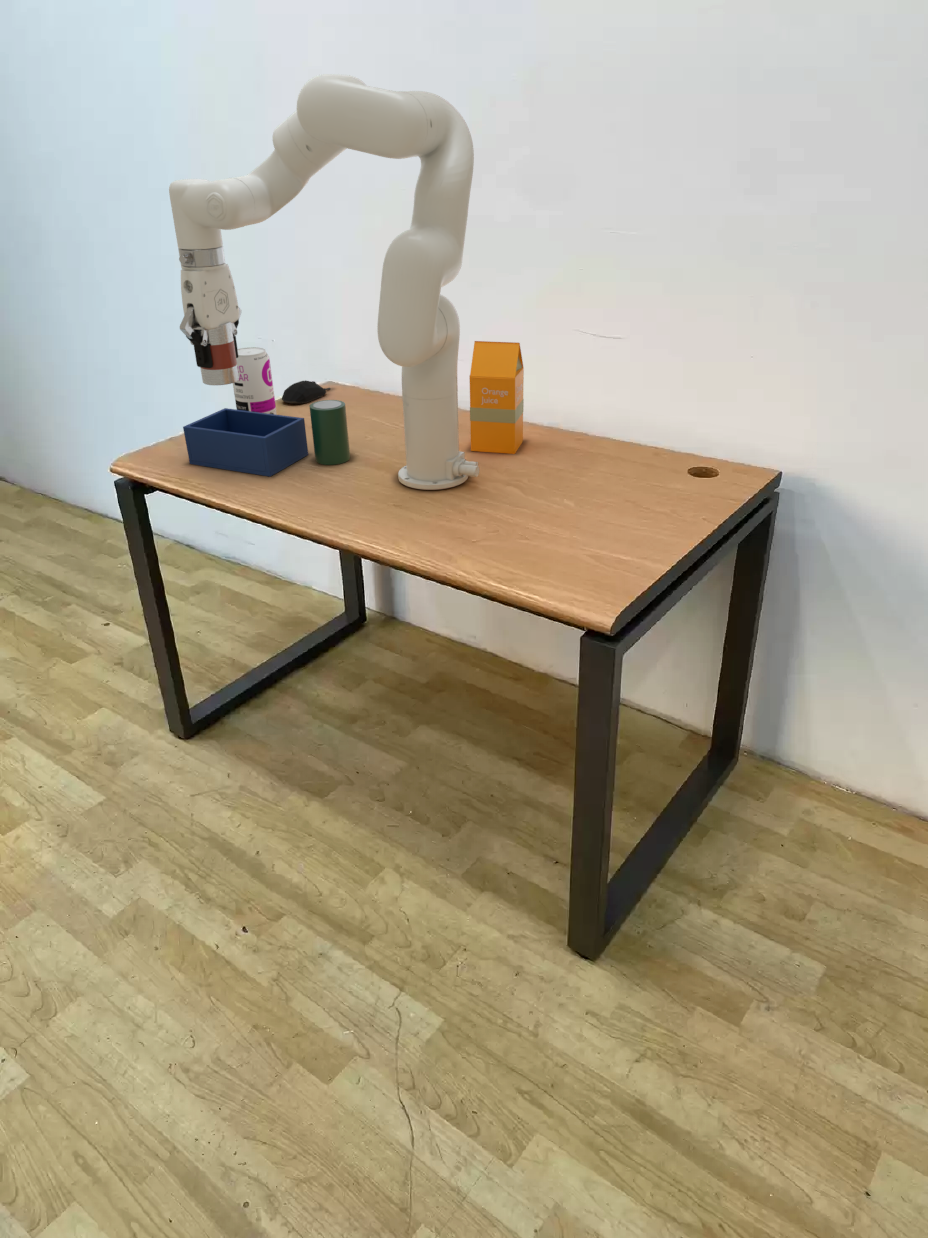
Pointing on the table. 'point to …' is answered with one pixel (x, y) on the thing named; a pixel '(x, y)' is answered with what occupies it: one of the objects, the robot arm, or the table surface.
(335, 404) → the green can
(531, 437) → the table surface
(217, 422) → the blue storage box
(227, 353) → the silver can
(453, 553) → the table surface
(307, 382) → the gaming mouse
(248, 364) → the supplement can
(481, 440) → the orange juice
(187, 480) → the table surface
